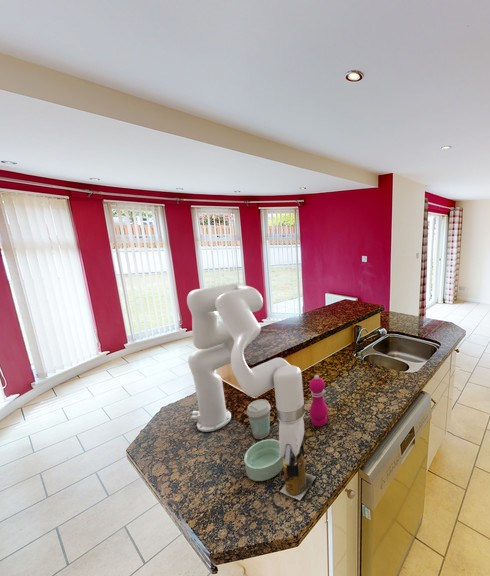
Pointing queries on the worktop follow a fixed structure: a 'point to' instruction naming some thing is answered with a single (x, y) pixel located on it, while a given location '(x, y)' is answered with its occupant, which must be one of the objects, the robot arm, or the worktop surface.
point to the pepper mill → (318, 402)
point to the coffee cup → (259, 418)
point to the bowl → (263, 460)
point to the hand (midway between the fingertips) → (296, 465)
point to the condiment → (297, 479)
